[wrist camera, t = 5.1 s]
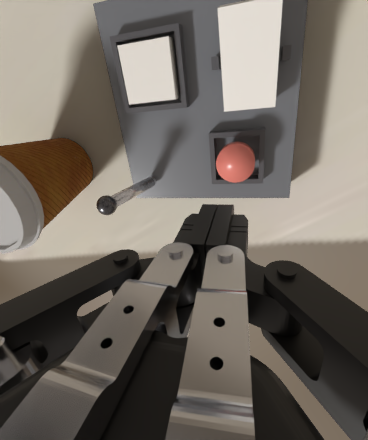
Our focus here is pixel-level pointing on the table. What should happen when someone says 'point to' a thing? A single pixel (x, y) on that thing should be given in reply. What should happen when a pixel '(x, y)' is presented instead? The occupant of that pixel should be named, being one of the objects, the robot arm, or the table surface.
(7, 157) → the disposable coffee cup
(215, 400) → the robot arm
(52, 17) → the table surface
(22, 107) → the table surface
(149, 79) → the paddle
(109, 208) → the toggle
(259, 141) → the panel
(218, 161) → the button
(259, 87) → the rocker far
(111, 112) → the table surface
